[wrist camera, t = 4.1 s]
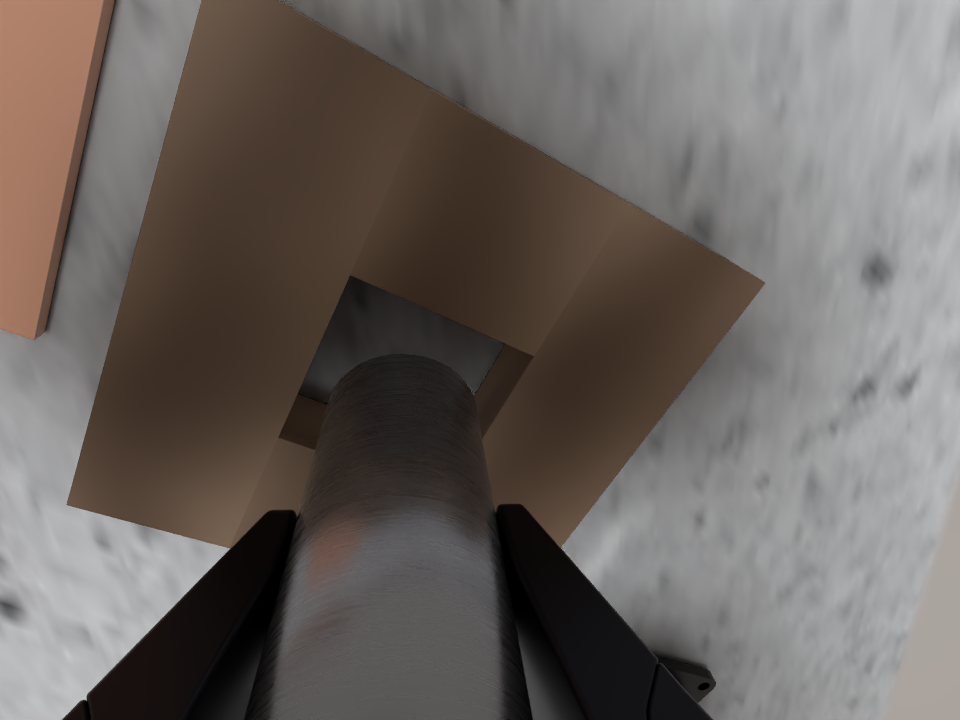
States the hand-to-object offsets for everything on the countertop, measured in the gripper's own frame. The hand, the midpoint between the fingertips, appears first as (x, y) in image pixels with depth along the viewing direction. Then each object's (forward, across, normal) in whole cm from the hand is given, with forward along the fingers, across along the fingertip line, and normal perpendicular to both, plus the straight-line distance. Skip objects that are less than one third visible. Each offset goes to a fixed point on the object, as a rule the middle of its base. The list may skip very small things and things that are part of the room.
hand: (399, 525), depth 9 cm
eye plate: (+6, 0, 0) cm, 6 cm away
